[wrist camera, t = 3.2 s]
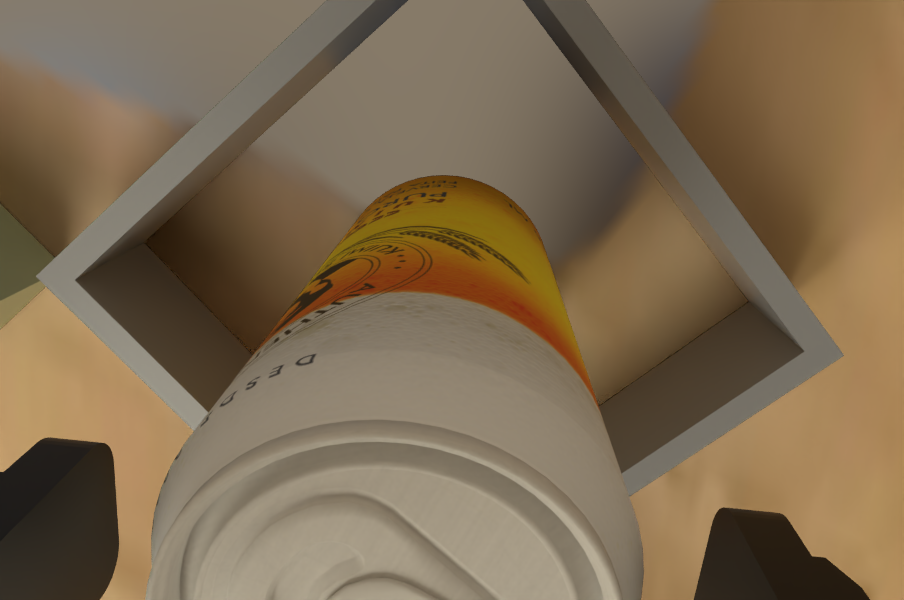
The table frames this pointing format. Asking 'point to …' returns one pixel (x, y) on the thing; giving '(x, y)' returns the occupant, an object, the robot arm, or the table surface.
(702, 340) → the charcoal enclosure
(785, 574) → the robot arm
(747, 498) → the table surface
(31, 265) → the olive bin
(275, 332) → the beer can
